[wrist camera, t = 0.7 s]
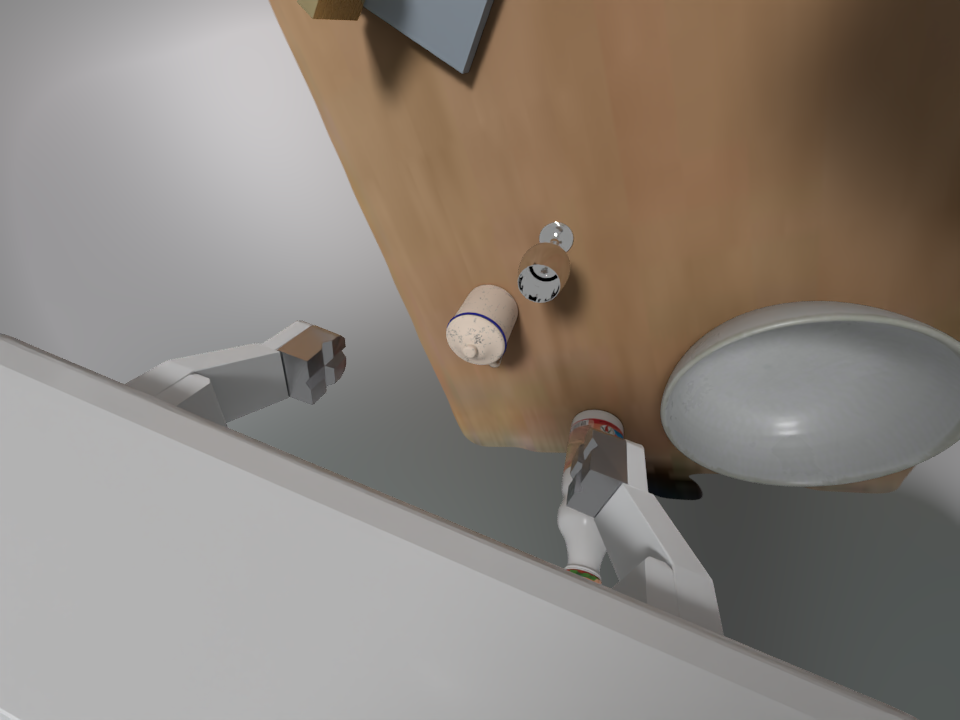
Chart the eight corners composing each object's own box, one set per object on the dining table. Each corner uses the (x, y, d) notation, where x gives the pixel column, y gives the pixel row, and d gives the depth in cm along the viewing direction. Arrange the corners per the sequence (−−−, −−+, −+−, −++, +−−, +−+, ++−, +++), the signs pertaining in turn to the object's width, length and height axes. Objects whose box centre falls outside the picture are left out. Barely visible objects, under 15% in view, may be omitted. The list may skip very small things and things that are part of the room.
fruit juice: (568, 407, 67) (540, 563, 47) (622, 408, 63) (616, 579, 43) (575, 439, 72) (552, 590, 53) (625, 442, 68) (621, 607, 49)
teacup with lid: (457, 287, 57) (427, 330, 49) (510, 277, 53) (487, 322, 45) (482, 346, 64) (460, 392, 55) (531, 341, 59) (514, 390, 51)
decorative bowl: (626, 383, 59) (625, 442, 51) (725, 228, 40) (749, 281, 32) (798, 437, 55) (828, 510, 47) (995, 294, 37) (1103, 374, 28)
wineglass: (543, 210, 45) (522, 251, 37) (586, 226, 45) (574, 271, 36) (528, 250, 49) (506, 295, 41) (567, 265, 49) (553, 314, 40)
